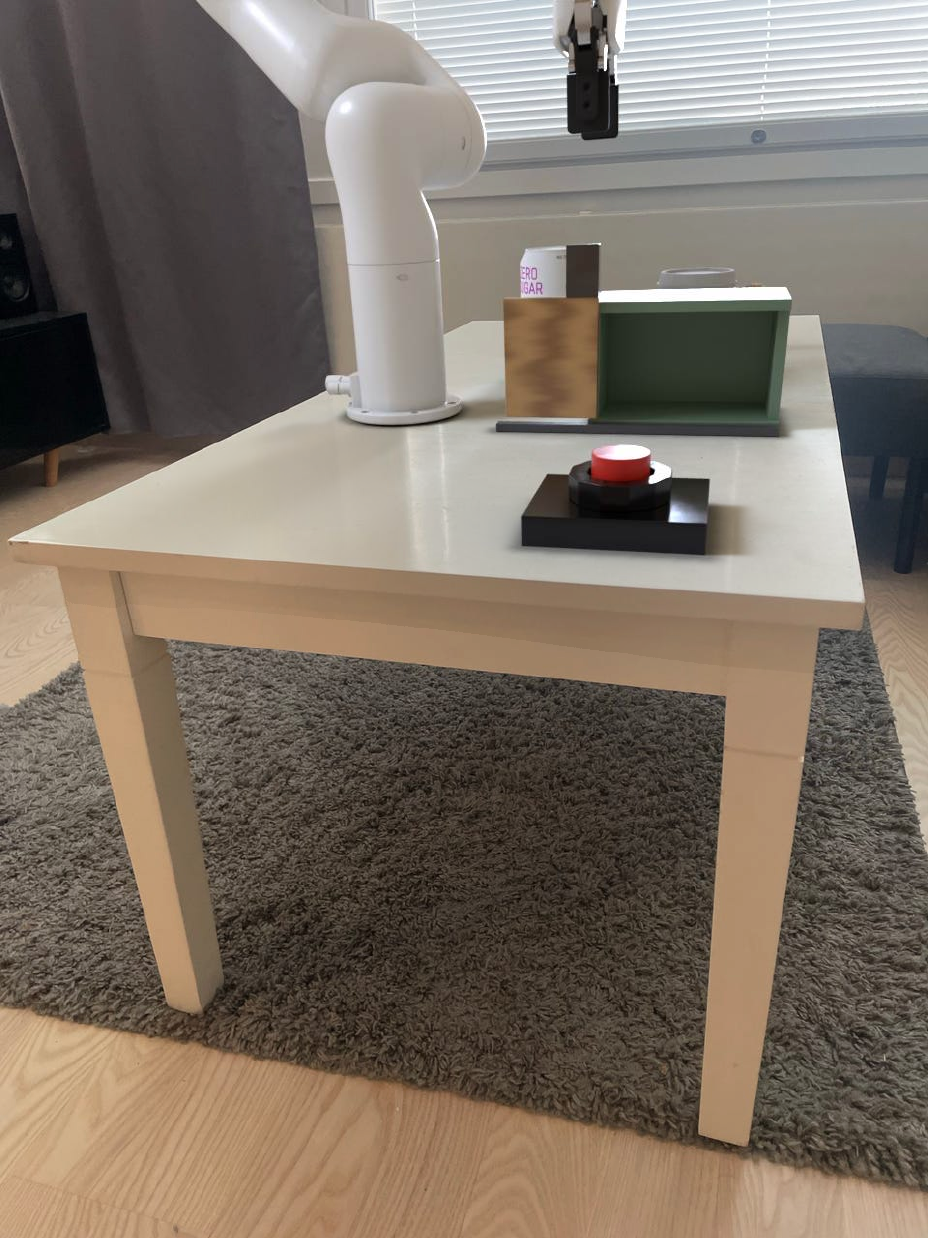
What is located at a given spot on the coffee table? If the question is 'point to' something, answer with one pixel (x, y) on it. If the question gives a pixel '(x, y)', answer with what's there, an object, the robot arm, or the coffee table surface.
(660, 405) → the cabinet
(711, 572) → the coffee table surface
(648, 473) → the button
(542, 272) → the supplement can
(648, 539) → the button box
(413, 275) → the robot arm
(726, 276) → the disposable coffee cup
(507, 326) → the sliding door
